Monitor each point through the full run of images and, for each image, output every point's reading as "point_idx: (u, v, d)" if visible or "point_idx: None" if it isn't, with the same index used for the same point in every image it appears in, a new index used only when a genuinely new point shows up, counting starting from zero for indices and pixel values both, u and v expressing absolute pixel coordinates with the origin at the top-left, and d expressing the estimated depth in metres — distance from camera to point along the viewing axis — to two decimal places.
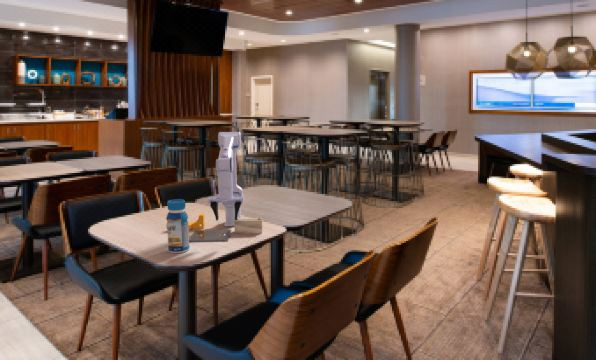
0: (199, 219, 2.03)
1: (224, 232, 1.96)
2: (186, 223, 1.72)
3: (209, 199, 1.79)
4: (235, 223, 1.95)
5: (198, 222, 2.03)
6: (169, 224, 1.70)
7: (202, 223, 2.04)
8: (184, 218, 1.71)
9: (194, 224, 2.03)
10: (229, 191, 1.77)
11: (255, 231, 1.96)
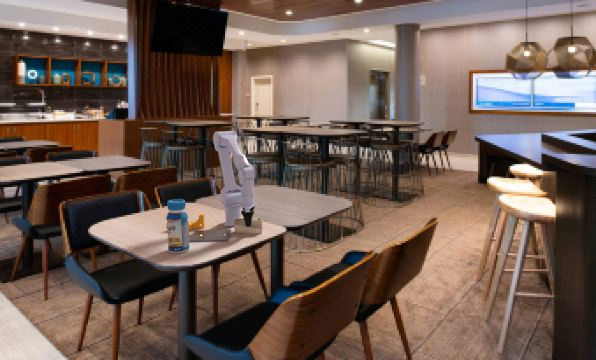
0: (199, 219, 2.04)
1: (224, 232, 1.96)
2: (186, 223, 1.72)
3: None
4: (235, 223, 1.95)
5: (198, 222, 2.04)
6: (169, 224, 1.70)
7: (202, 223, 2.04)
8: (184, 218, 1.71)
9: (194, 224, 2.04)
10: (242, 198, 1.93)
11: (255, 231, 1.96)
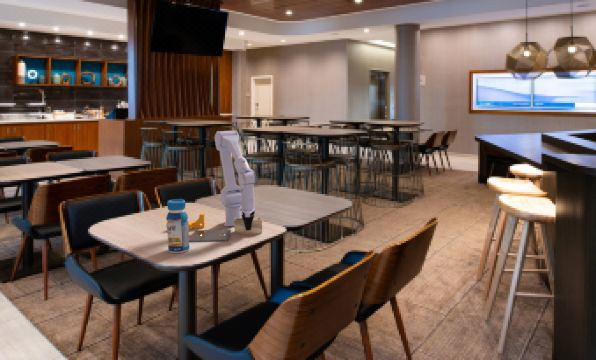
0: (200, 218, 2.04)
1: (224, 232, 1.96)
2: (186, 223, 1.72)
3: None
4: (235, 223, 1.95)
5: (198, 222, 2.04)
6: (169, 224, 1.70)
7: (203, 222, 2.05)
8: (184, 218, 1.71)
9: (195, 223, 2.04)
10: (242, 202, 1.94)
11: (255, 231, 1.96)
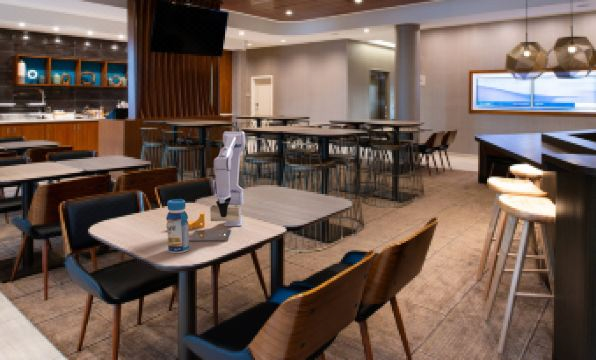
0: (200, 218, 2.05)
1: (224, 232, 1.96)
2: (186, 223, 1.72)
3: None
4: (211, 210, 1.90)
5: (199, 221, 2.05)
6: (169, 224, 1.70)
7: (203, 222, 2.06)
8: (184, 218, 1.71)
9: (195, 223, 2.05)
10: (217, 188, 1.89)
11: (231, 218, 1.91)
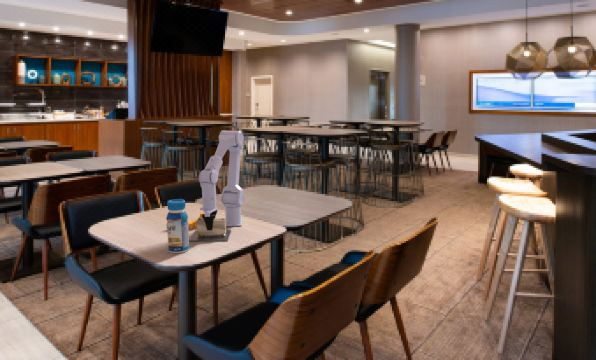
0: (200, 217, 2.06)
1: None
2: (186, 223, 1.72)
3: None
4: (197, 223, 1.89)
5: None
6: (169, 224, 1.70)
7: None
8: (184, 218, 1.71)
9: (195, 222, 2.06)
10: (203, 202, 1.88)
11: (218, 232, 1.90)
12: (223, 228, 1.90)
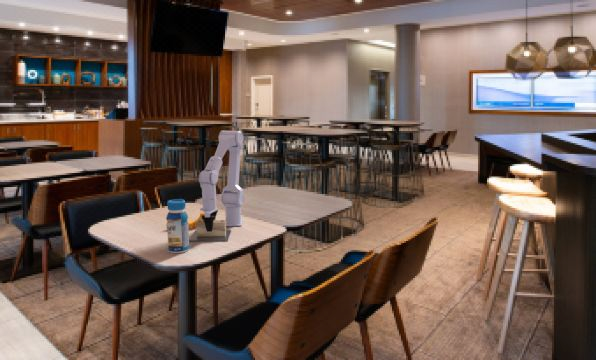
0: (200, 217, 2.06)
1: None
2: (186, 223, 1.72)
3: None
4: (197, 225, 1.89)
5: None
6: (169, 224, 1.70)
7: None
8: (184, 218, 1.71)
9: (195, 222, 2.06)
10: (203, 202, 1.88)
11: (218, 233, 1.91)
12: (223, 230, 1.90)
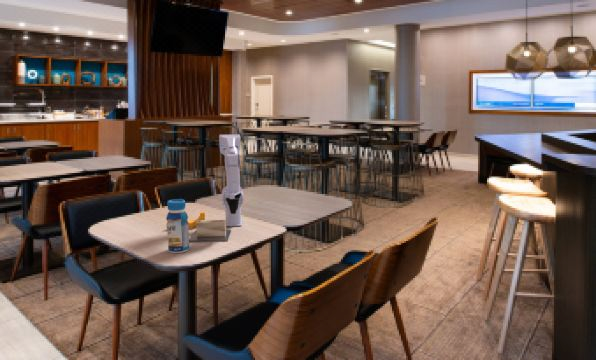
0: (200, 217, 2.07)
1: None
2: (186, 223, 1.72)
3: None
4: (197, 225, 1.89)
5: None
6: (169, 224, 1.70)
7: None
8: (184, 218, 1.71)
9: (195, 222, 2.07)
10: (228, 185, 1.93)
11: (218, 233, 1.91)
12: (223, 230, 1.90)
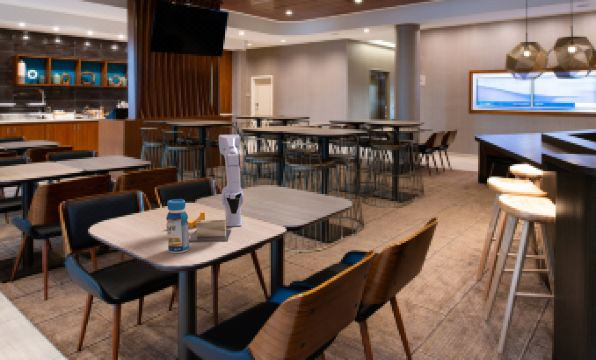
0: (201, 216, 2.08)
1: None
2: (186, 223, 1.72)
3: None
4: (197, 225, 1.89)
5: (199, 219, 2.08)
6: (169, 224, 1.70)
7: None
8: (184, 218, 1.71)
9: (196, 221, 2.08)
10: (228, 185, 1.93)
11: (218, 233, 1.91)
12: (223, 230, 1.90)
